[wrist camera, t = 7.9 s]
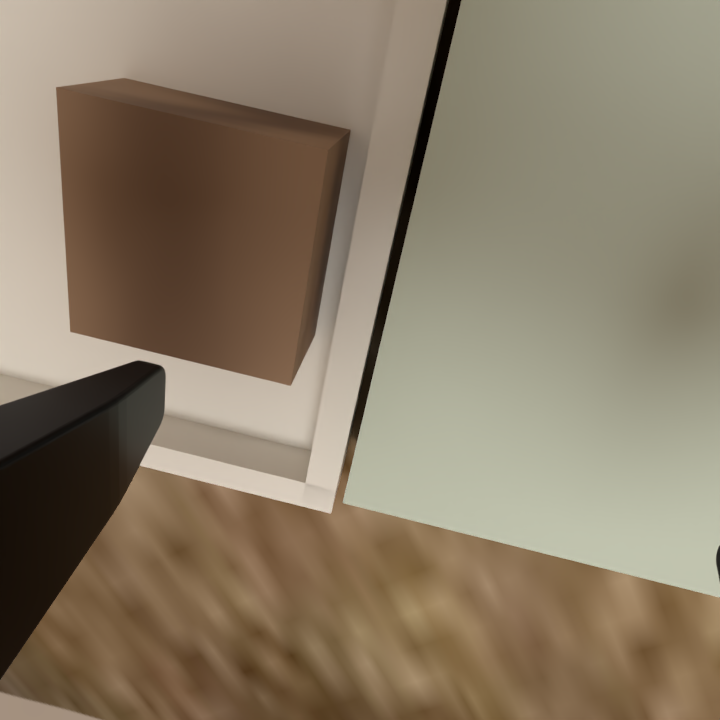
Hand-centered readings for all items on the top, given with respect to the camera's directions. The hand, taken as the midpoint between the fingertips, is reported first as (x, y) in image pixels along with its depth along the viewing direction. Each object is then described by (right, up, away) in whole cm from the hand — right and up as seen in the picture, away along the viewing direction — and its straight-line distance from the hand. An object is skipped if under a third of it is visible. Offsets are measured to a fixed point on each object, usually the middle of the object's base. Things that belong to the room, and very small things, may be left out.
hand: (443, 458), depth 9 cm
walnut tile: (-5, +6, +8) cm, 11 cm away
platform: (+7, +3, +7) cm, 11 cm away
